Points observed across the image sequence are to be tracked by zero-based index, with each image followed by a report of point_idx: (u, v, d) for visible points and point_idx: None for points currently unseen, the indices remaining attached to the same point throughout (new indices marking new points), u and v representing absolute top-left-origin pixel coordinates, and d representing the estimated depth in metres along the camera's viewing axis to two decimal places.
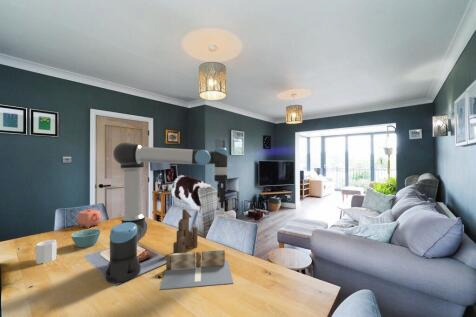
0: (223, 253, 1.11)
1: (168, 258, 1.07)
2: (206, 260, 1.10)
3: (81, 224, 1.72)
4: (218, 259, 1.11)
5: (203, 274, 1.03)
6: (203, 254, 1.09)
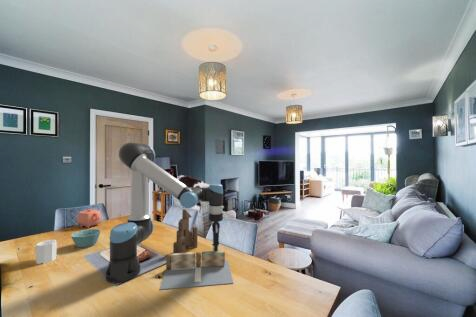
0: (223, 253, 1.11)
1: (168, 258, 1.07)
2: (206, 260, 1.10)
3: (81, 224, 1.72)
4: (218, 259, 1.10)
5: (203, 274, 1.03)
6: (203, 254, 1.09)
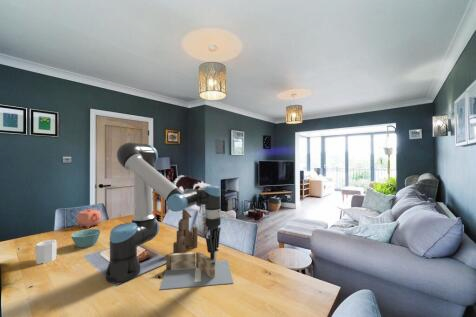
0: (210, 264, 0.99)
1: (168, 258, 1.07)
2: (200, 263, 1.06)
3: (81, 224, 1.72)
4: (207, 268, 1.01)
5: (203, 274, 1.03)
6: (199, 256, 1.07)
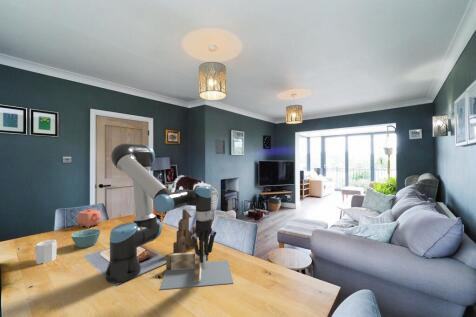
0: None
1: (168, 258, 1.07)
2: None
3: (81, 224, 1.72)
4: None
5: (203, 274, 1.03)
6: (196, 256, 1.07)
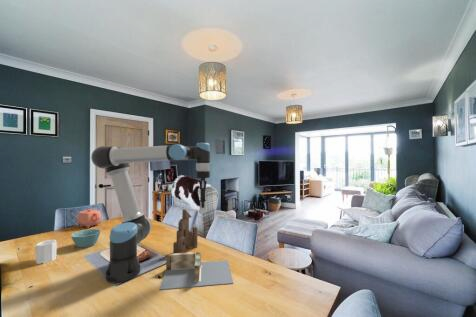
0: None
1: (168, 258, 1.07)
2: None
3: (81, 224, 1.72)
4: None
5: (203, 274, 1.03)
6: (196, 256, 1.07)
